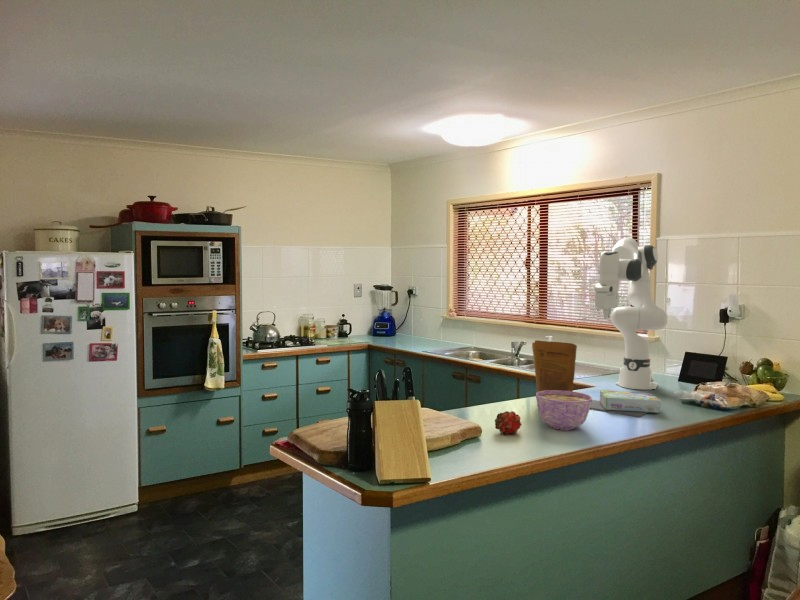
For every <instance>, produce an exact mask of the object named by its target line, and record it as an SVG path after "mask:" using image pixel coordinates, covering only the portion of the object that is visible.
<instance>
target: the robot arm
mask: <svg viewBox="0 0 800 600" xmlns="http://www.w3.org/2000/svg"><path fill="white" fill-rule="evenodd" d="M658 256H659V255H658V251H657V250H656V247H655V246H653V245H650V244H646V245H644V246H643V245H642V246H639V244H638V242H637V240H636V239H634V238H633V237H629V236H627V237H623V238H622V239H620V240H618V241H617V242H616V244H614V246H613V247H612V250H605V251H602V252H601V254H600V257H599V261H598V262H599V263H598V268H597V269H598V273H597V274H599V275H598V281H597V284H596V285H595V286H594V292H595V296H594V298H595V299H594V302H595V303H594V304H595V305H594V306H595V309H596V310H602V312H603V313H602V314H603V319H604V320H608V319H610V322H611V324H612V326H614V328H616V329H617V330H618V331H619V333H620V334H621V335H622V337H623V340H624V357H623V360H622V361H623V363H622V364H623V366H622V367H620V368H619V376H618V381H616V382H615V385H616V386H620V387H622V388H624V389H625V388H626V389H632V390H652V389H655V390H656V389H657V388H658V383H657V382H655V381H654V373H653V371H652V368H651V367H650V366H651V358H650V343H649V341H648V340H647V339H646V338H644V337H643V336H641V335H639V334H638V333H637V331H659V330H663V329H664V328H665V327H666V326H667V325H668V321H669V319H668V314H667V313H666V311H665V310H664V309H662V308H660V307H659V306H658V305H657V304H656V303H655V301H654V300H653V298H652V297H653V296H652V280H651V275H650V272H649V270H650V271H652V270H653V269H654V266H656V264H657V263H658ZM620 281H628V282H627V283H628V284H627V301H628V302H629V304H630V305H631V306H619V302H620V301H619V290H620V289H619V288H620V287H619V286H620V285H619V283H620ZM612 309H613V310H612Z"/></svg>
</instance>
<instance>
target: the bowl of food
mask: <svg viewBox="0 0 800 600" xmlns="http://www.w3.org/2000/svg"><path fill="white" fill-rule="evenodd" d="M535 397H536V406H537V405H538V406H537V408H538V409H537V410H538V414H539V416H540V419H541V420H542V421H543V422H544V423H545V424H547V425H548V426H550V427H551V428H552V427H553V428H552V429H555V430H559V429H560V431H561V430H563V431H571V429H572V430H574V429H575V428H578V427H579V426H582V425H583V424H584V423H585V422H586V420H587V418H588V414H589V412H590V410H591V409H590V405H591V402H592V400H593V396H591V395H589V394H587V393H583V392H578V391H573V392H572V391H562V390H546V391H539V392H537V391H536V393H535Z"/></svg>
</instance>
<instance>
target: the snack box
mask: <svg viewBox="0 0 800 600" xmlns="http://www.w3.org/2000/svg"><path fill="white" fill-rule="evenodd" d="M599 401H600V403H601V404H602V405H603V406H604V408H605V409H606V410H620V411H638V412H648V413H657V414H658V413H661V400H660V399H659V398H657V396H655V395H654V394H653V393H652V392H651V393H648V392H633V391H618V390H616V391H615V390H599Z"/></svg>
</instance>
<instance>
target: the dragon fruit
mask: <svg viewBox="0 0 800 600" xmlns="http://www.w3.org/2000/svg"><path fill="white" fill-rule="evenodd" d="M522 424H523V423H522V422H521V416H520V415H519V414H516V412H515V411H504V412H500V413H497V414H496V418H495V419H494V426H495V429H496V430H498V431H499V432H501V434H503V435H507V434H510V435H515V434H517V432H518V430H519V429H521V426H522Z"/></svg>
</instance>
